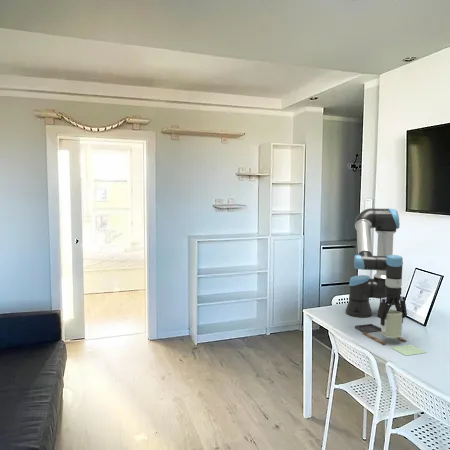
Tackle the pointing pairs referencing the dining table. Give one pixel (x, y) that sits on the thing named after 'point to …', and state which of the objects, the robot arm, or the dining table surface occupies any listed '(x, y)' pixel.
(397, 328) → the can
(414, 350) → the mat
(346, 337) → the dining table surface
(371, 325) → the tray
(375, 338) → the lane
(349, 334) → the dining table surface
